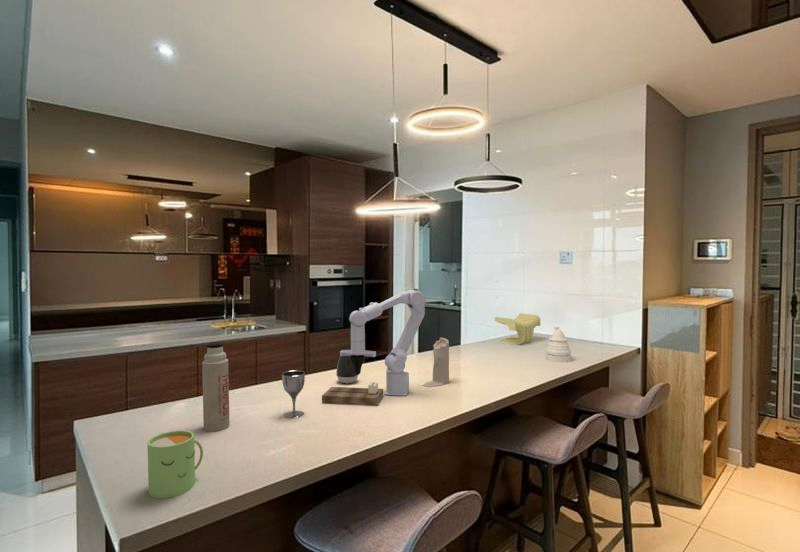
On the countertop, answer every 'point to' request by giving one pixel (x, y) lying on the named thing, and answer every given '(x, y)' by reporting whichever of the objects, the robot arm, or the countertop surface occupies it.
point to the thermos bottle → (215, 388)
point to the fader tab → (373, 388)
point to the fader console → (352, 396)
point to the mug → (172, 463)
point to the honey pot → (558, 348)
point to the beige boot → (440, 363)
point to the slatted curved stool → (521, 327)
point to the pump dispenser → (346, 370)
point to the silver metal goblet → (293, 389)
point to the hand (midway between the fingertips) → (358, 373)
